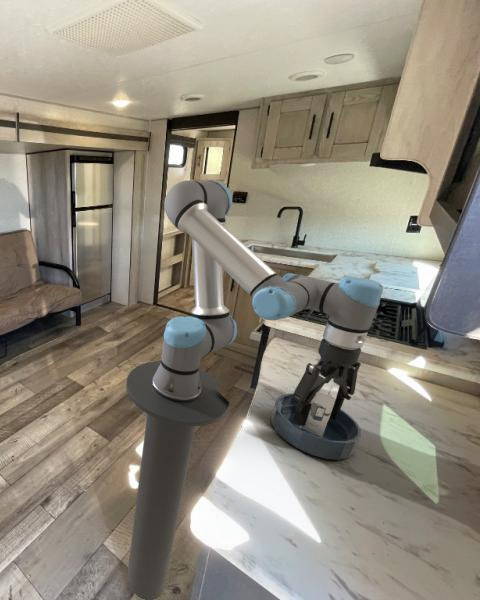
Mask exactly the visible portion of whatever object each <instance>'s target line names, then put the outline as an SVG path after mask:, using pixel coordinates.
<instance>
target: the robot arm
mask: <svg viewBox="0 0 480 600" xmlns="http://www.w3.org/2000/svg"><path fill="white" fill-rule="evenodd" d="M163 203H164V204H163V207H164V213H165V215H166V216H167V219H168V220H169V221H170V223H171V224H172V225H173V226H174V227H175V228H176V229H177V230H178V231H179V232H180V233H187V234H188V236H190V237H191V251H192V268H193V269H192V271H193V272H192V273H193V286H194V288H193V289H194V303H195V304H194V305H195V306H194V307H193V308H192V309H191V310H190V315H189V316H188V315H186V316H183V315H182V316H181V315H180V316H176V317H173V318H171V319H169V320H168V321H167V323H166V325H165V329H164V332H163V342H162V349H161V357H160V358H161V359H160V361H161V364H160V366H159V367H158V369H157V371H156V373H155V375H154V377H153V382H152V385H153V388H154V390H155V391H156V392H157V393H158V394H159V395H161V396H162V397H164V398H166V399H168V400H171V401H175V402H191V401H194V400H196V399H198V398H199V397H200V394H201V389H202V388H201V382H200V377H199V369H200V366H201V359H202V357H205V356H207V355H210V354H212V353H214V352H217V351H219V350H223V349H225V348H227V347H228V346H229V345H231V344H232V343H233V342H234V341H235V339H236V337H237V334H238V327H237V322H236V321H235V319H233V316H232V315H230V309H229V308H228V307H227V306H226V305H224V303H225V302H224V284H223V283H224V281H223V280H224V279H223V270H224V271H225V272H226V273H227V274H228V275H229V276H230V277H231V278H232V279H233V280H234V281H235V282H236V283H237V284H238V285H239V286H240V287H241V288H242V289H243V290H244V291H245V292H246V293H247V294H248V295H249V296H250V297H251V298H252V308H253V310H254V313H255V314H256V315H257V316H258V317H260V318H261V319H263V320H266V321H278V320H283V319H286V318H289V317H291V316H292V315H294V314H297V313H299V312H302V311H304V310H312V311H315V312H319V313H322V314H326V315H328V318H327V322H326V324H325V327H324V331H323V333H322V339H321V340H320V344H319V347H318V354H319V356H320V359H319V360H318V362H317V363H316V364H313V363H310V362H309V363H307V364H306V368H305V370H304V373H303V375H302V377H301V379H300V380H299V383H298V384H297V386H296V388H295V390H294V392H293V395H292V397H293V398H294V399H296V400H297V401H298V403H297V407H296V412H295V415H294V418H293V419H294V420H295V421H297V422H298V423H299V424H300V425H302V426H305V423H306V420H307V417H308V414H309V411H310V408H311V406H312V404H310V402H311V400H312V399H313V398H314V397H315V395H316V393H317V392H319V390H320V389H321V388H322V387H323V385H324V384H325V383H329V381H332V380H333V381H332V382H334V383H336V384H338V385H339V386H340V387H339V390H338V393H337V397H336V400H335V403H334V406H333V409H332V412H331V414H330V418H332V419H333V420H337V417H338V414H339V412H340V409H341V410H342V406H343V404H344V401H345V400H347V401H351V399H352V396H353V395H354V394H355V392H356V385H357V379H358V371H359V369H360V367H361V364H362V362H359V361H358V360H359V358H360V355H361V352H362V349H361V348H363V346H364V344H365V342H366V341H367V336H368V332H370V329H371V325H372V324H373V320H374V318H375V316H376V313H377V311H378V309H379V307H380V305H381V304H380V301H381V298H382V295H383V292H384V287H383V284H382V283H380V282H379V281H376V280H373V279H371V278H365V277H358V276H344V277H343V278H341V279H340V282H334V281H333V282H332V281H329V280H323V279H320V278H315V277H311V276H307V275H305V274H297V273H290V272H288V273H285V274H284V275H283V277H281V276H280V275H279V274H278V273H277V272H276V271H275V270H273V269H272V268H271V267H270V266H269V265H268V264H267V263H266V262H265V261H263V260H262V258H260V257H259V256H258V255H257V254H255V252H254V251H252V250H251V249H250V248H249V247H248V246H247V245H246V244H245V243H243V242H242V241H241V240H240V239H239V238H238V237H237V236H236V235H235V234H234V233H232V232H231V231H230V230H229V228H227V227H226V226H225V225H226V216H227V215H228V214H229V211H230V210H231V209H232V205H233V196H232V193H231V191H230V189H229V188H228V186H226V185H225V184H224V183H222V182H220V181H214V180H182V181H179V182H177V183H175V184H173V186H171V187H170V189H169V190H168V191H167V193H166V195H165V198H164V202H163Z"/></svg>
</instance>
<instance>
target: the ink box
mask: <svg viewBox="0 0 480 600" xmlns="http://www.w3.org/2000/svg"><path fill="white" fill-rule="evenodd" d="M339 387H340V386H339V385H338V384H336V383H334V381H332V380H330V381H329V383H325V384H324V385H323V387H322V388H321V389H320V390H319V392H317V393H316V395H315V397H314V398H313V399H312V400H311V402H310V404H312V406H311V408H310V411H309V414H308V417H307V420H306V423H305V426H302V425H300V428H302V429H304V430H306V431H309V432H311V433H313V434H316V435H318V436H320V437H322V436H323V433H324V430H325V428H326V425H327V422H328V420H329V417H330V414H331V412H332V409H333V406H334V403H335V400H336V397H337V393H338V390H339Z"/></svg>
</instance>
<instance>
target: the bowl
mask: <svg viewBox="0 0 480 600" xmlns="http://www.w3.org/2000/svg"><path fill="white" fill-rule="evenodd" d="M293 393H294V392H293ZM293 393H292V392H291V393H286V394H285V393H284V394H281V395H280V396H278V397H277V398H276V400H275V402H274V405H273V409H272V412H271V415H270V421H271V422H270V423H271V426H272V427H273V428H274V430H275V432H276V433H277V434H278V435H279V436H280V437H281V438H283V439H284V440H285V441H286V442H287V443H289V444H290V445H292V446H293V447H295V448H296V449H298V450H301V451H302V452H304V453H307V454H309V455H311V456H315V457H318V458H322V459H325V460H335V461H340V460H345V459H348V458H350V457H351V456H352V455H353V454H354V453H355V450H356V448H357V445H358V444H359V441H360V440H361V436H362V435H361V434H362V429H361V428H360V426H359V424H358V422H357V421H356V420H355V419H354V418H353V417H352V416H351V415H350V414H348V413H347V412H346V411H344V410H343V409H342V408H341V409H340V412H339V414H338V417H337V420H333V419H332V418H330V417H329V420H328V422H327V425H326V428H325V430H324V433H323V436H322V437H320V436H318V435H316V434H313V433H311V432H309V431H306V430H304V429H302V428H300V424H299V423H298V422H297V421H295V420H294V419H293V418H294V415H295V412H296V407H297V403H298V401H297V400H296V399H294V398H293V397H292V395H293Z"/></svg>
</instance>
